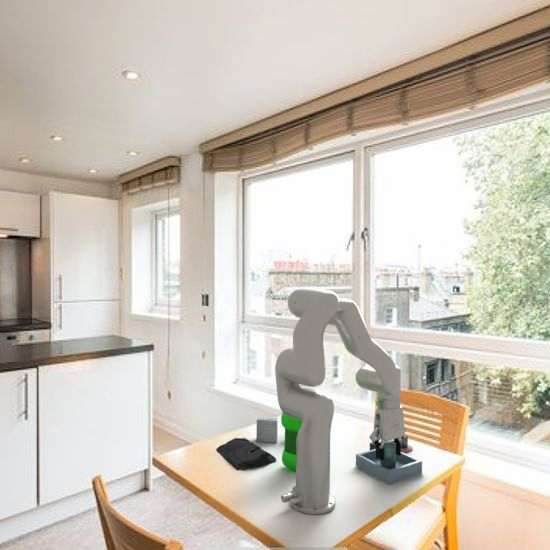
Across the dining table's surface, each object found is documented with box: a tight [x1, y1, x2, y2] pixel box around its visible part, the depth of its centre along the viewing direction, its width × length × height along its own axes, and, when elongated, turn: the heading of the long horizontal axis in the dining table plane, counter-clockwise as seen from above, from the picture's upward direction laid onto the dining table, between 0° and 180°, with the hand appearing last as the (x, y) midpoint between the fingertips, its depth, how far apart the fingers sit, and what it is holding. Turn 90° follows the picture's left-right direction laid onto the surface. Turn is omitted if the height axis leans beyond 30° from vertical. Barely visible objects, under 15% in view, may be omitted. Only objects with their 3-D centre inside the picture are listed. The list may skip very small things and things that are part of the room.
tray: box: [355, 449, 423, 486], centre depth 140 cm, size 15×15×4 cm
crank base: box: [401, 444, 413, 453], centre depth 158 cm, size 7×7×1 cm
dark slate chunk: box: [215, 437, 277, 472], centre depth 151 cm, size 15×22×5 cm
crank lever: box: [369, 434, 409, 451], centre depth 155 cm, size 16×5×4 cm, turn 121°
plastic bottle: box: [280, 412, 302, 473], centre depth 141 cm, size 10×10×25 cm
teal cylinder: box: [379, 440, 396, 470], centre depth 140 cm, size 5×5×8 cm
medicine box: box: [255, 416, 279, 444], centre depth 165 cm, size 8×4×9 cm, turn 84°
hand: (388, 456), depth 140 cm, fingers open, 7 cm apart
